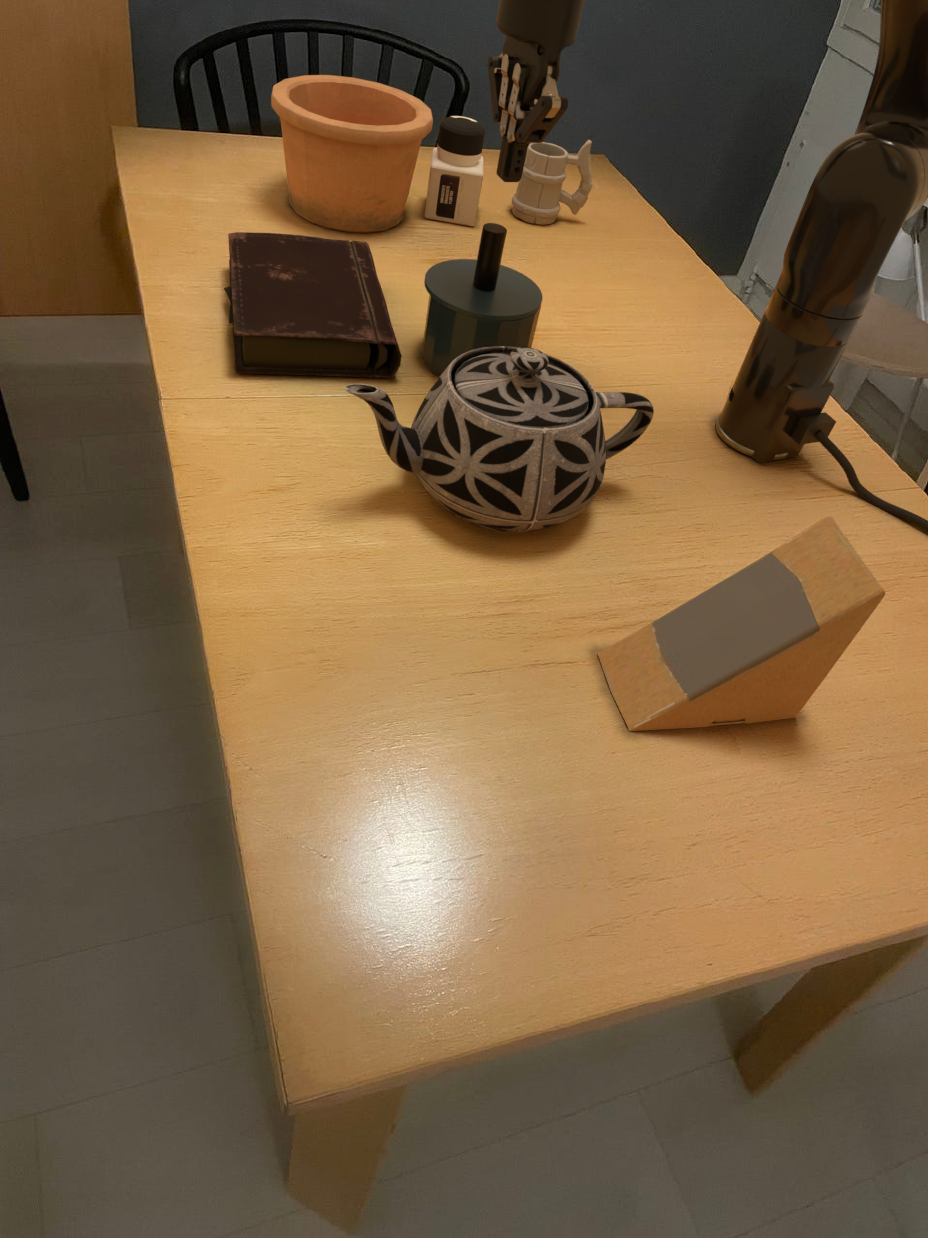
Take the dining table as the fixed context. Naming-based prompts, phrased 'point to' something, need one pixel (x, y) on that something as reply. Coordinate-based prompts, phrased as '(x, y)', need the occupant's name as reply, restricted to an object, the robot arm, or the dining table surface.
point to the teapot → (508, 437)
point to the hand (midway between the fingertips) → (508, 178)
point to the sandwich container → (747, 639)
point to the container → (456, 172)
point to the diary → (308, 307)
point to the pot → (468, 335)
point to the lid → (484, 283)
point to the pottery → (349, 149)
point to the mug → (550, 183)
